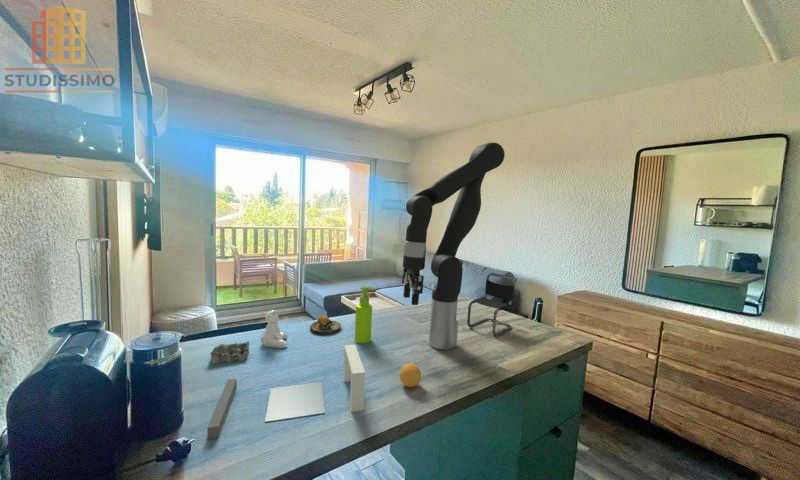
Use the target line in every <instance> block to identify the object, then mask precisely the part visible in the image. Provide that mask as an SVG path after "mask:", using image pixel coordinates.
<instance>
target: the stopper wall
mask: <svg viewBox="0 0 800 480" xmlns="http://www.w3.org/2000/svg"><path fill="white" fill-rule="evenodd" d="M237 380H238V379H237V378H230V379H229V378H228V379H227V381H226V384H225V386H224V387H223V390H222V392H221V395H220V398H219V400H218V403H217V404H216V406H215V409H214V412H213V413H212V416H211V419H210V421H209V424H208V426H207V440H212V439H218V438H220V435H221V432H222V429H223V428H224V427H223V426H224V424H225V422H226V419H227V416H228V413H229V410H230V408H231V405H232V401H233V398H234V397H235V393H236V391H237V388H238V387H237V385H238V384H237V383H238V381H237Z"/></svg>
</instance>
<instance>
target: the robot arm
mask: <svg viewBox="0 0 800 480" xmlns="http://www.w3.org/2000/svg"><path fill="white" fill-rule="evenodd" d="M505 155H506V153H505V149H504V148H503V145H501V144H500V143H499V142H498V143H497V142H488V143H484V144H480V145H478V146H476V147H475V148H473V150H472V152H471V153H470V156H469V158H468V159H469V160H468V162H466V163H465V164H464V165H462V166H460V167H458V168H455V169H454V170H452V171H450V172H448V173H446V174H445V175H443V176H442V177H440V178H439V179H438V180H436V181H435V182H433V183H432V184H431V185H430V186H429V187H428V186H427V187H426V188H425V189H423V190H421V191H418V192H417V193H416V194H414V195H413V196H411V197H410V198H409V199H408V200H407V202H406V206H405V208H406V212H407V213H408V215H410V216H411V219H410V222H409V223H410V224H408V225H407V227H406V234H405V242H404V243H405V244H404V246H403V258H402V267H403V269H402V279H401V280H402V281H401V284H403V285H402V286H403V298H409V299H410V297H411V306H417V305H419V301H420V300H419V299H420V294H423V291H424V277H425V276H424V275H420V274H421V272H420V271H423V270H424V269H425V265H426V255H427V235H428V228H429V226H430V222H431V219H432V215H433V207H434V206H435V205H437V204H440V203H443V202H445V201H446V200H447V199H448V198H450V197H452V196H453V195H454V194H456V193H457V192H458V191H459V192H458V195H457V198H456V200H455V203H454V205H453V208H452V210H451V213H450V216H449V219H448V222H447V224H446V228H445V231H444V233H443V236H442V239H441V241H440V243H439V245H438V247H437V249H436V251H435V253H434V256H433V257H432V260H431V263H430V271H431V273H432V274H433V276H434V277H436V278H437V283H436V287H435V288H434V289H432V293H431V307H430V324H429V336H428V344H429V346H430V347H432V348H433V349H437V350H439V351H440V350H442V351H449V350H452V349H454V348H457V343H458V333H459V332H458V331H459V321H458V320H457V314H458V313H457V311H458V300H459V295H460V293H461V290H462V281H463V272H464V271H463V264H462V261H461V260H460V259H459V258H458V257H456V255H457V252H458V250H459V247H460V245H461V243H462V242H463V241H464V239H465V238H466V236H468V235H469V233H470V232H471V230H472V229H473V228H474V226H475V224H476V222H477V219H478V217H479V215H480V211H481V207H482V194H481V193H482V192H481V191H482V190H481V189H482V185H483V180H484V178H485V176H486V174H487V173H488V172H490V171H492V170H495V169H497V168H499V167H500V166H501V165H502V163H503V162H504V160H505ZM411 291H412V292H411ZM411 293H412V294H411Z"/></svg>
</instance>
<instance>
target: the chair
mask: <svg viewBox="0 0 800 480" xmlns="http://www.w3.org/2000/svg"><path fill="white" fill-rule="evenodd" d="M491 276H494V277H499V278H503V279H509V280H512V282H511V284H510V285H508V284H507V285H506V284H500V283H496V282H493V281H490V277H491ZM516 281H518V277H513V276H509V275H503V274H499V273H493V272H490V273H488V274H487V275H486V280H485V291H484V295H483V296H482V297H479V298H476V299H473V300H471V301H469V304H468V306H467V316H466V317H467V321H466V323H467V324H466V325H467V326H468V327H469V328H473V327H474V326H476V325H479V324H481V322H482V323H483V321H484V322H486V321H485V320H491V321H490V322H492V335H493V336H494V337H497V336H499V335H501V334H503V333H505V332H507V331H509V330H510V329H512V326H511V325H510V324H509V323H506V322H504V321H500V320H497V315H498V313H499V311H500V312H501V311H502V310H505V309H507V308H509V307H510V306H512V303H513V301H514V290H515V283H516ZM487 296H491V297H493V298H498V299H502V300H508V301H509V302H508V303H507V302H506V303H505V302H499V301H497V300H496V301H495V300H492V299H489V298H487ZM475 303H477V304H479V305H481V306H485V307H489V308H493V309H494V308H495V310H494V312H493V318H491V317H490V318H489V317H488V318H487V317H485V318H483V319H480V320H477V321H475V322H473V323H471V309H472V305H473V304H475ZM496 322H498V323H496ZM499 323H501V324H500V325H502V324H504V325H503V326H505V325H507V326H506V328H503V329H501V330H499V331H498V332H496V325H497V324H499Z"/></svg>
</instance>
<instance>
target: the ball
mask: <svg viewBox="0 0 800 480" xmlns="http://www.w3.org/2000/svg"><path fill="white" fill-rule="evenodd" d="M399 378H400V382H401V383H402V384H403V385H404V386H405V387H408V388H414V387H416V386H417V385H419V383H420V382H421V380H422V371H421V369H420V368H419V366H418V365H416V364H414V363H411V362H410V363H407V364H404V365H403V366H402V367H401V369H400V371H399Z"/></svg>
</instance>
